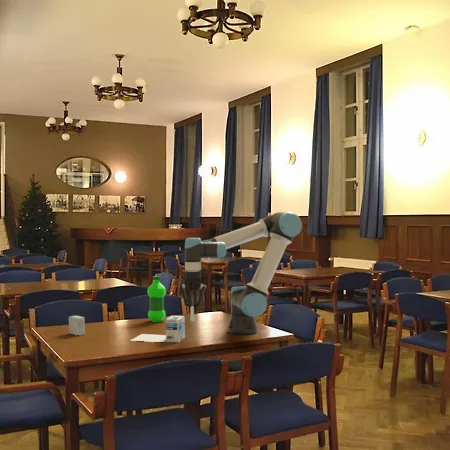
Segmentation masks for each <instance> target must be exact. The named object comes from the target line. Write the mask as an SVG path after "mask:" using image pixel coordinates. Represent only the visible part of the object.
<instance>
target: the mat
mask: <svg viewBox="0 0 450 450" xmlns="http://www.w3.org/2000/svg"><path fill="white" fill-rule="evenodd" d="M165 340H166V334H152V333H150V334H148V333H147V334H146V333H141V334H139V335H138V336H136V337H134V338H132V339H130V340H129V342H136V341H144V342H143V343H154V342H163V343H164V342H166V341H165Z"/></svg>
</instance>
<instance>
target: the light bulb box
mask: <svg viewBox="0 0 450 450" xmlns="http://www.w3.org/2000/svg"><path fill="white" fill-rule="evenodd" d="M165 335H166V341H165V342H166V343H180V342H182V341H183V340H184V339H186V317H185V315H171V316H169V317H167V318H165ZM183 338H184V339H183ZM182 339H183V340H182ZM181 340H182V341H181Z"/></svg>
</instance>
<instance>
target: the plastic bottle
mask: <svg viewBox="0 0 450 450" xmlns="http://www.w3.org/2000/svg"><path fill="white" fill-rule="evenodd" d="M161 279H162V278H161V275H153V276H152V280H153V282H152V283H151V285H149V286H148V287H147V291H146V293H147V295H148V297H149V310H148V312H147V316H148V318H149V320H150V321H151V322H153V323H161V322H162V321H163V320H165V319H166V315H167V314H166V313H167V312H166V310H165V296H166V294H167V289H166V287H165V286H164V284H162V283H161V282H160V281H161Z"/></svg>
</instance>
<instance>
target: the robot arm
mask: <svg viewBox="0 0 450 450" xmlns="http://www.w3.org/2000/svg"><path fill="white" fill-rule="evenodd" d="M302 227H303V223H302V220H301V217H300V216H299V215H297V214H296V213H294V212H291V211H284V212H283V211H280V212H279V211H278V212H276V213H275V212H274V213H273V214H271V215H268V216H265V217H264V218H259V220H258V221H257V222H254V223H252V224H249V225H246V226H243V227H241V228H238V229H235V230H231V231H230V232H227V233H224V234H221V235H217V236H214V237H212V238H209V239H204V240H202V238H200V237H187V238H186V239H185V241H184V242H185V243H184V270H185V271H184V281H183V283H182V284H180V285H179V289H180V290H181V295H182V298H183V304H184V305H185V306H186V307H188V314H189V315H190V319H189V321H190V322H195V321H196V315H197V314H198V307H200V306H201V305H202V302H203V297H204V293H205V290H206V289H207V285H205V284H203V282H202V272H201V270H202V259H207V258H209V259H217V258H218V259H220V258H225V257H226V254H227V250H228V249H231V248H234V247H237V246H240V245H242V244H245V243H248V242H250V241H253V240H256V239H258V238H259V239H260V238H262V237H264V238H268V237H270V240H269V242H268V244H267V246H266V248H265V250H264V252H263V255H262V257H261V259H260V262H259V264H258V266H257V268H256V271H255V273H254V275H253V277H252V278H251V281H250V282H248V283H246V284H245V286H233V287H231V289H230V319H229V321H228V325H227V332H228V333H229V332H230V334H233V333H239V334H238V335H246V334H245V333H253V334H255V333H254V332H256V333H258V325H257V322H256V319H255V317H259V316H261V315H263V313H264V312H265V311H266V309H267V306H268V301H267V299H268V296H269V294H270V293H269V291H268V289H269V286H270V285H271V281H272V280H273V278H274V275H275V273H276V271H277V268H278V266H279V265H280V262H281V259H282V258H283V255H284V253H285V250H286V249H287V246H288V245H290V244H292V242H293V241H294V238H295V237H297V236H298V235H299V234H300V233H301V231H302ZM186 289H187V291H186ZM199 289H200V290H199ZM198 291H199V296H198ZM187 294H188V295H187Z"/></svg>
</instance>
